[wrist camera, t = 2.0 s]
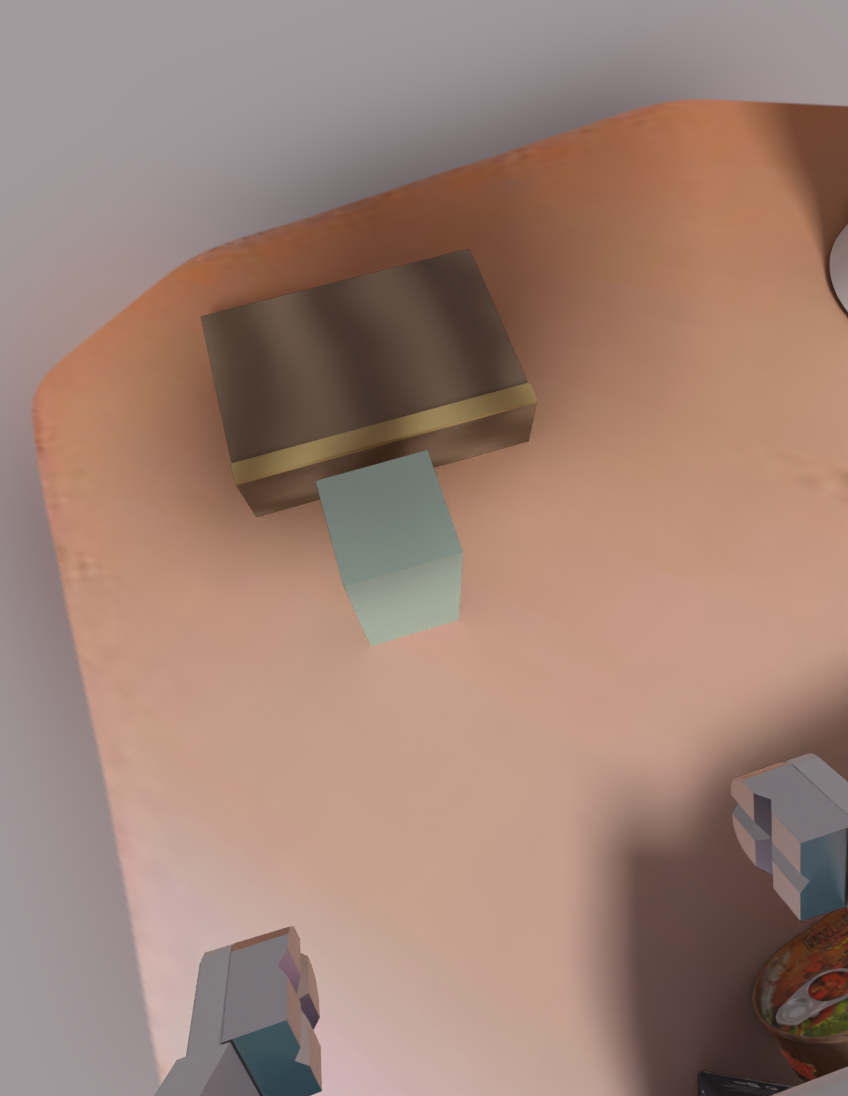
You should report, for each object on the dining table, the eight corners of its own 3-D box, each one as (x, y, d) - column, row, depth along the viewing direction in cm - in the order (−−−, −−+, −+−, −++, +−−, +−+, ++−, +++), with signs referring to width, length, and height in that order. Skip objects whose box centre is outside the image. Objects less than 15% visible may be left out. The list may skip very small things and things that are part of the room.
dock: (467, 295, 44) (469, 244, 40) (528, 440, 40) (537, 399, 36) (221, 359, 43) (198, 312, 39) (256, 517, 38) (234, 482, 34)
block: (432, 539, 37) (427, 449, 28) (459, 620, 36) (462, 551, 26) (348, 564, 37) (315, 481, 28) (371, 646, 35) (343, 586, 26)
